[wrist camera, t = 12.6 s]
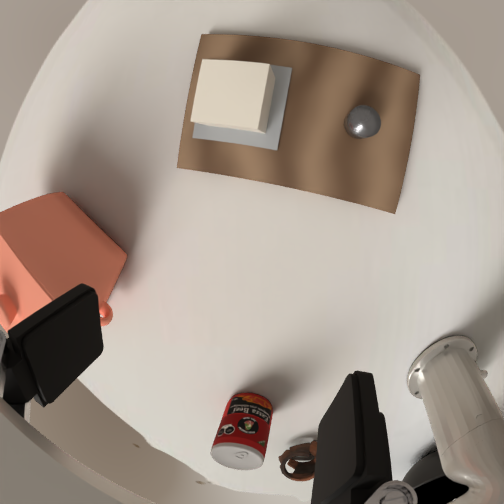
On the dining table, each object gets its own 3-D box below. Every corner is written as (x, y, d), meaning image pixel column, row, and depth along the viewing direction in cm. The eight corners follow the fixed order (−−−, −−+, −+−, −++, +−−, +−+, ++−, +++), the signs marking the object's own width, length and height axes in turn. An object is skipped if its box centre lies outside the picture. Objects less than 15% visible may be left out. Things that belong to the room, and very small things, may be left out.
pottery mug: (275, 456, 48) (267, 475, 40) (296, 423, 49) (291, 440, 41) (325, 475, 44) (323, 496, 36) (348, 444, 45) (350, 463, 37)
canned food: (280, 398, 40) (270, 455, 30) (265, 424, 43) (254, 474, 33) (233, 385, 41) (214, 439, 31) (223, 412, 44) (206, 461, 34)
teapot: (104, 357, 45) (50, 419, 29) (28, 278, 43) (-34, 318, 27) (158, 268, 36) (71, 346, 20) (57, 172, 34) (-39, 196, 18)
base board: (415, 77, 23) (419, 74, 21) (391, 211, 29) (395, 214, 27) (205, 38, 25) (201, 34, 24) (182, 166, 31) (176, 167, 30)
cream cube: (275, 78, 24) (269, 63, 20) (265, 133, 27) (257, 129, 22) (218, 72, 25) (202, 59, 20) (208, 125, 27) (190, 121, 23)
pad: (292, 68, 24) (291, 67, 24) (277, 150, 27) (276, 150, 27) (208, 60, 25) (206, 59, 25) (193, 138, 28) (192, 137, 28)
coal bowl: (380, 477, 47) (383, 539, 29) (419, 435, 40) (434, 511, 22) (441, 469, 44) (451, 522, 27) (484, 426, 37) (505, 486, 20)
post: (374, 115, 24) (383, 110, 21) (369, 142, 25) (378, 141, 22) (346, 107, 25) (351, 101, 21) (341, 134, 26) (346, 132, 22)
